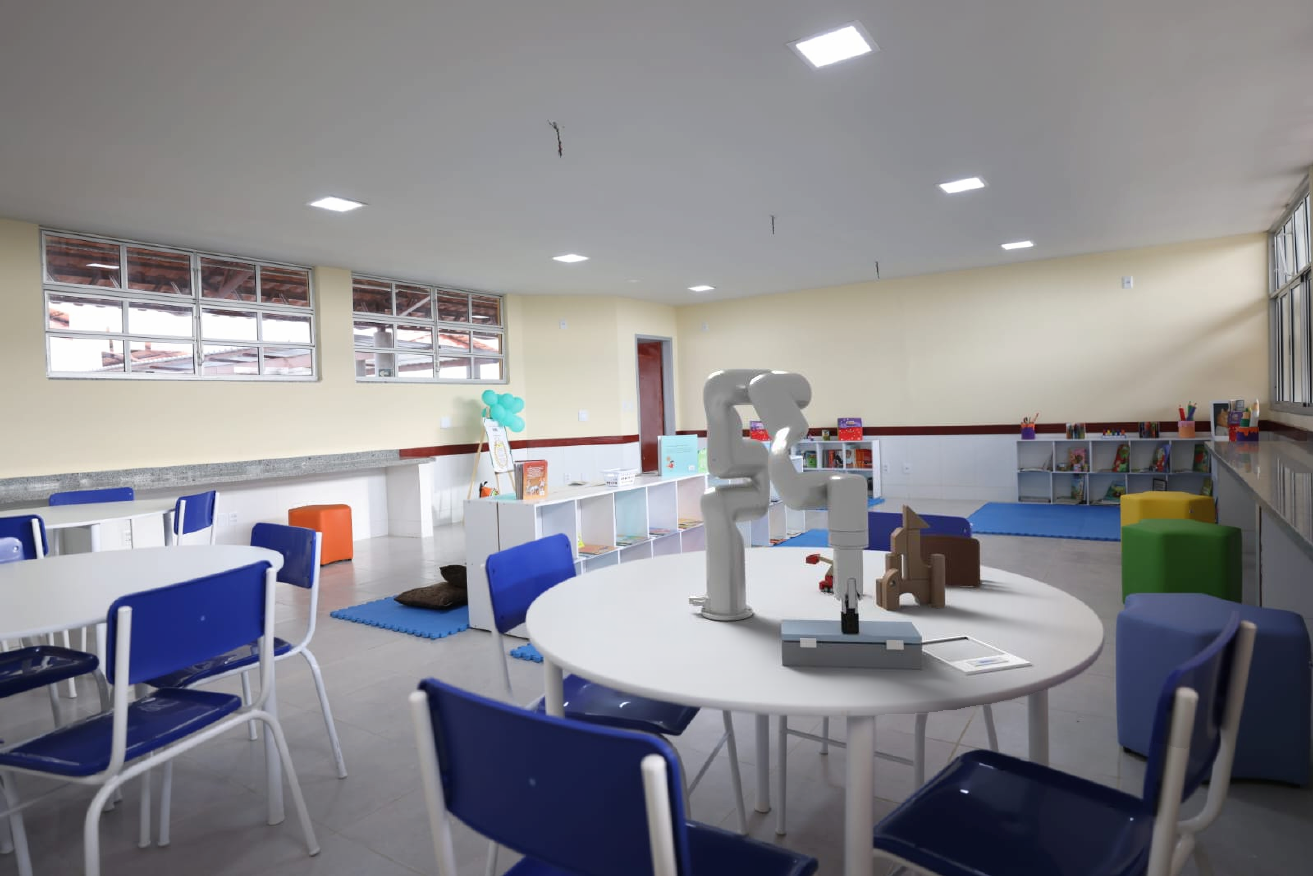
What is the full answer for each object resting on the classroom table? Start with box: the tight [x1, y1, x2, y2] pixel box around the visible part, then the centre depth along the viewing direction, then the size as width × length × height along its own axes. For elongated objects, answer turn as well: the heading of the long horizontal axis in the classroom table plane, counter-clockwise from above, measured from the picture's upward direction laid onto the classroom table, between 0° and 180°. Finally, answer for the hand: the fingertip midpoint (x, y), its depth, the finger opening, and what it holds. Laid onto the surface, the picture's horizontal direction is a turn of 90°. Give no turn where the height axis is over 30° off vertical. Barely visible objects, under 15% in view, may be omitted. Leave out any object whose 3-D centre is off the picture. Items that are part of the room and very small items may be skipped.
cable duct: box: [781, 633, 923, 670], centre depth 144 cm, size 26×11×4 cm, turn 81°
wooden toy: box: [875, 504, 946, 611], centre depth 180 cm, size 16×7×25 cm, turn 94°
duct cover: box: [780, 619, 923, 650], centre depth 144 cm, size 26×12×2 cm, turn 81°
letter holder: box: [902, 533, 981, 588], centre depth 204 cm, size 10×20×14 cm, turn 67°
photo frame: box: [917, 634, 1032, 676], centre depth 144 cm, size 15×1×18 cm
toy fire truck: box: [805, 553, 834, 594], centre depth 197 cm, size 3×14×10 cm, turn 58°
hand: (850, 632), depth 141 cm, fingers closed
